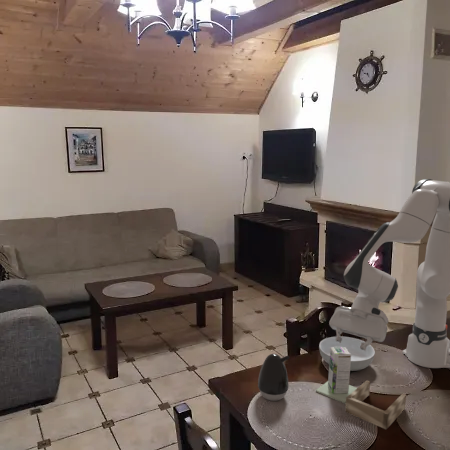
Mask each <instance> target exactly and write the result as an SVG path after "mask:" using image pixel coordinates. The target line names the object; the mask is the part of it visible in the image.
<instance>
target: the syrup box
mask: <svg viewBox="0 0 450 450" xmlns="http://www.w3.org/2000/svg"><path fill="white" fill-rule="evenodd" d="M350 364H351V354H350V352H349V351H348V350H347V348H346V347H331V348H330V362H329V364H328V365H329V366H328V380H327V381H328V387H329V388H330V390H331V392H332V394H342V393H348V391H349V385H350V377H351V375H350V373H351V371H350Z"/></svg>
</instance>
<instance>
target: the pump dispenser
mask: <svg viewBox="0 0 450 450" xmlns="http://www.w3.org/2000/svg"><path fill="white" fill-rule="evenodd" d="M289 359H290V356H289V355H285V356H283V357H281V356H280V355H279V354H277V353H271V354H269V355H267V356H266V358H265V359H264V361H263V363H262V364H261V367H260V371H259V374H258V379H257V381H258V382H257V387H258V389H259V392H260V395H261V396H262V397H263V398H264V399H266V400H267V401H271V402H276V401H280V400H282V399H283V398H284V397H286V395H287V391H288V390H289V377H288V376H289V375H288V372H287V368H286V365H285V363H284V362H286V361H288V360H289Z"/></svg>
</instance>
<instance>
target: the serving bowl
mask: <svg viewBox="0 0 450 450" xmlns="http://www.w3.org/2000/svg"><path fill="white" fill-rule="evenodd" d="M336 337H337V336H331V337H326V338H324V339H322V340H321V341H320V342H319V344H318V345H319V346H318V349H319V353H320V356H321V358H322V359H323V360H324V361H325V363H326V364H328V365H329V362H330V348H331V347H346V348H347V350H348V351H349V352H350V354H351V364H350V372H353V371H354V372H355V371H361V370H363V369H366V368H368V367H369V366H370V365H371V364H372V362H373V361H374V358H375V355H376V351H375V349H374V347H373V346H372V345H371V344H370V345H368V346H367V348H366V350H362V349H361V348H360V346H361V343H365V342H366V341H364V340H361V339H359V338H355V337H349V336H340V337H341V338H342V341H341V343H338V342H336Z"/></svg>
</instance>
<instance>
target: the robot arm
mask: <svg viewBox="0 0 450 450" xmlns="http://www.w3.org/2000/svg"><path fill="white" fill-rule="evenodd" d="M430 227H431V228H430ZM429 228H430V231H429ZM427 232H429V236H428V239H427V244H426V249H425V256H424V261H423V262H421V263H420V265H419V266H418V268H417V271H416V286H415V287H416V288H415V290H416V291H415V295H416V296H415V301H416V302H415V303H416V304H415V315H414V322H413V324H412V333H410V334H409V335H408V337H407V343H406V348H405V349H403V350H402V354H403V355H404V354H405V355H404V356H406V358H407V357H408V358H407V359H408V360H409V361H410V362H411V363H413V364H415V365H418V366H420V367H423V368H430V369H441V368H443V369H444V368H446V369H450V339H449V338H448V337H447V335H448V334H447V333H448V332H447V330H448V324H446V323H447V313H448V305H447V303H448V302H447V301H448V299H447V298H448V297H449V296H450V181H443V180H436V179H435V180H434V179H431V178H423V179H420V180H419V181H417V182H416V183H415V185H414V186H413V187H412V191H411V194H410V196H409V197H408V198H407V199H406V201H405V202H404V204H403V205H402V207H401V208H400V211H399V213H398V214H397V216H396V217H395V218H394V219H393V220H391V221H387V222H383V224H381V225H380V226H379V227H378V228H377V230H376V231H374V233H373V235H371V237H370V238H369V239H368V240H367V242H366V243H365V245H364V246H363V247H362V248H361V250H360V251H359V252H358V254H357V255H356V256H355V257H354V258H353V260H352V261H351V262H350V263H349V264H348V265H347V267H346V268H345V270H344V272H343V279H344V281H345V283H346V285H347V286H348V287H350V288H353V289H356V290H358V291H357V292H358V293H357V295H356V296H355V298H354V299H353V302H352V304H351V307H348V306H345V305H340V306H338V307H336V308H335V309H334V313H333V315H332V316H331V318H330V320H329V322H328V323H329V324H328V325H329V327H330V328H331V329H332V330H334V331H335V333H336V336H335V337H336V342H338V343H341V341H342V338H341V337H342V336H341V335H342V333H346V334H350V335H354V336H356V337H360V338H364V339H366V340H365V341H364V342H365V343H361V346H360V348H361V349H362V350H366V348H367V346H368V345H371V344H373V341H376V342H379V343H382V342H384V341H385V339H386V338H387V337H386V336H387V332H388V324H389V318H388V316H387V314H386V313H385V312H384V310H381V308H380V309H379V307H380V303H386V302H390V301H393V299H394V298H395V296H396V294H397V291H398V288H399V284H398V281H397V278H396V277H394V276H393V275H391V274H389V273H387V272H385V271H382V270H381V269H379V268H376V267H374V266H373V265H371V264H370V263H369V262H370V260H371V259H372V257H373V256H374V255H375V253H376V252H377V251H378V249H379V248H380V247H381V246H382V245H383V244H384V243H388V242H393V243H394V242H395V243H403V244H404V243H405V244H410V243H416V242H419V241H420V240H422V239H423V238H424V237H425V236H426V234H427Z"/></svg>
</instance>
